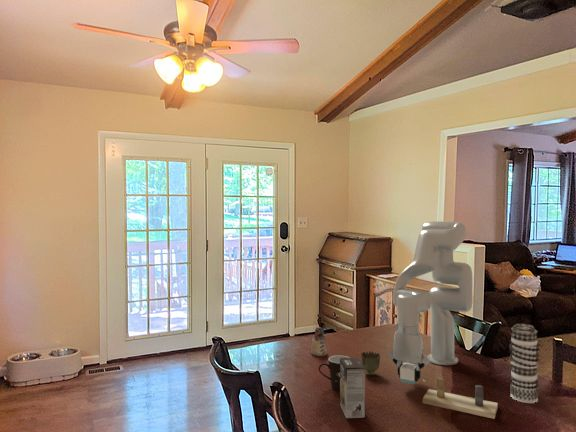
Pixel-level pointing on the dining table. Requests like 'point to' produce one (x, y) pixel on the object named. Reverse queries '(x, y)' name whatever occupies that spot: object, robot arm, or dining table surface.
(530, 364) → the decorative candle
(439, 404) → the pin board
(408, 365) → the sleeve
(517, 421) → the dining table surface
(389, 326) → the dining table surface
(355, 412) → the coffee box
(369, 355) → the cup
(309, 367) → the dining table surface
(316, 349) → the figurine
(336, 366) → the coffee mug
